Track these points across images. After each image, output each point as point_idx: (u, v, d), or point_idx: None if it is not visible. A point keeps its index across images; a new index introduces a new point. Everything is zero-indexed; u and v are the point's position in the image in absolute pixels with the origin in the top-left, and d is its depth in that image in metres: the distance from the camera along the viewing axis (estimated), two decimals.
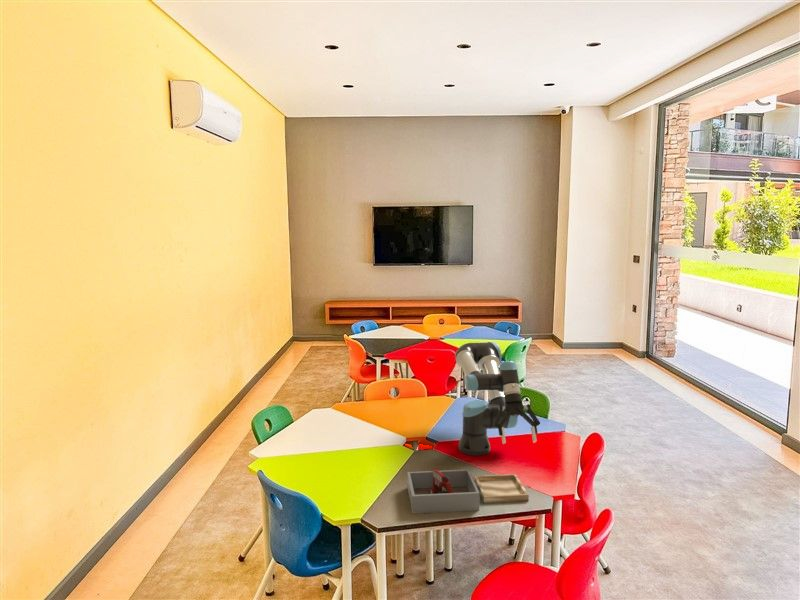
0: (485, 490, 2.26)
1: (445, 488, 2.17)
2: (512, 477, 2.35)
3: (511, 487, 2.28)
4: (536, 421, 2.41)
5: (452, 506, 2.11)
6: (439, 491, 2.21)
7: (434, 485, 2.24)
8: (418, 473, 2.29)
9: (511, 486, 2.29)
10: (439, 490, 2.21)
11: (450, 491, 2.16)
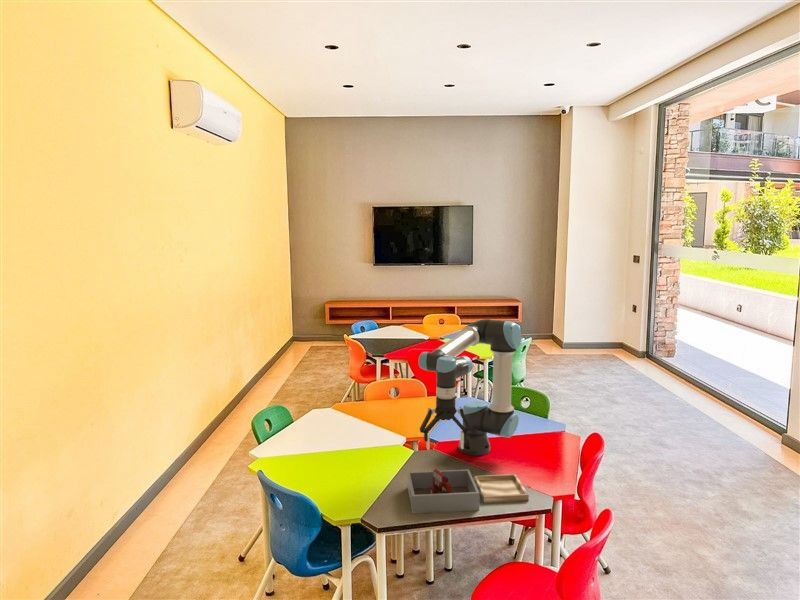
0: (485, 490, 2.26)
1: (445, 488, 2.17)
2: (512, 477, 2.35)
3: (511, 487, 2.28)
4: (467, 428, 2.16)
5: (452, 506, 2.11)
6: (439, 491, 2.21)
7: (434, 485, 2.24)
8: (418, 473, 2.29)
9: (511, 486, 2.29)
10: (439, 490, 2.21)
11: (450, 491, 2.16)
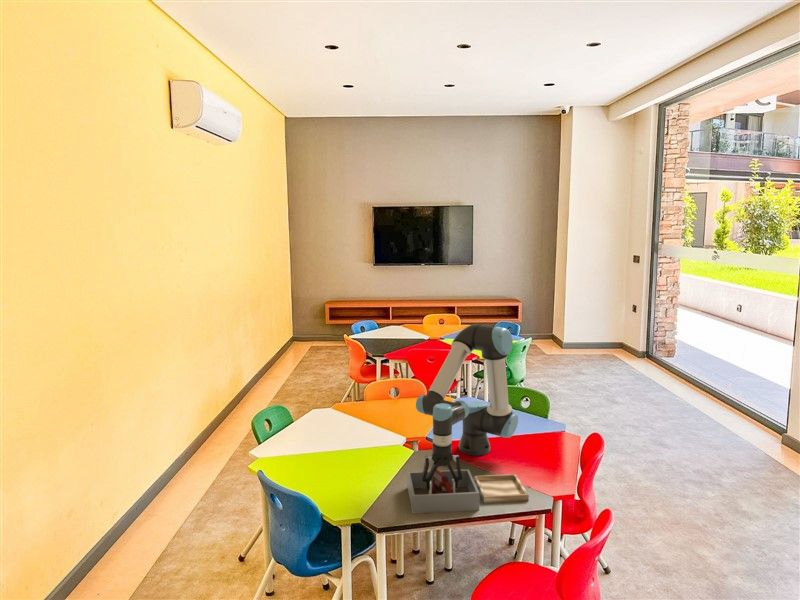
0: (485, 490, 2.26)
1: (445, 488, 2.17)
2: (512, 477, 2.35)
3: (511, 487, 2.28)
4: (459, 476, 2.19)
5: (452, 506, 2.11)
6: (439, 491, 2.21)
7: (434, 485, 2.24)
8: (418, 473, 2.29)
9: (511, 486, 2.29)
10: (439, 490, 2.21)
11: (450, 491, 2.15)
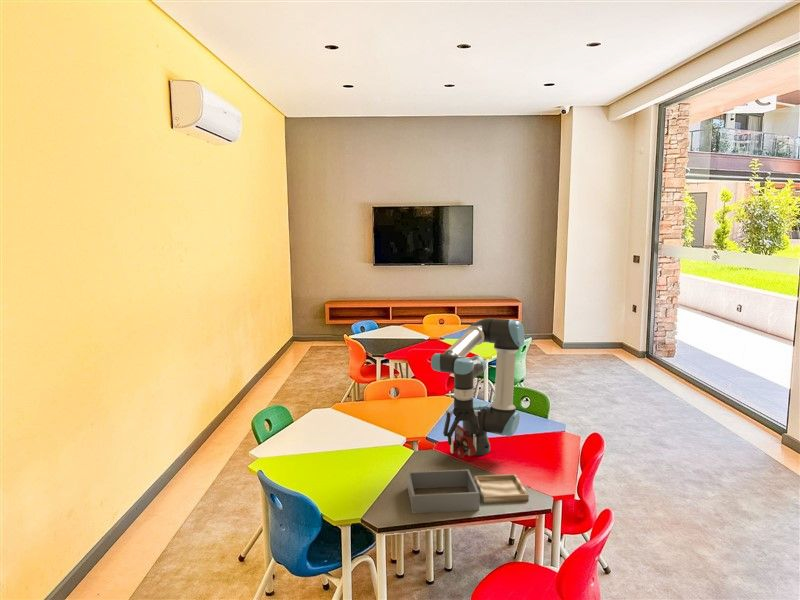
0: (485, 490, 2.26)
1: (466, 442, 2.17)
2: (512, 477, 2.35)
3: (511, 487, 2.28)
4: (480, 431, 2.19)
5: (452, 506, 2.11)
6: (460, 446, 2.21)
7: (455, 440, 2.24)
8: (418, 473, 2.29)
9: (511, 486, 2.29)
10: (460, 445, 2.21)
11: (471, 445, 2.15)
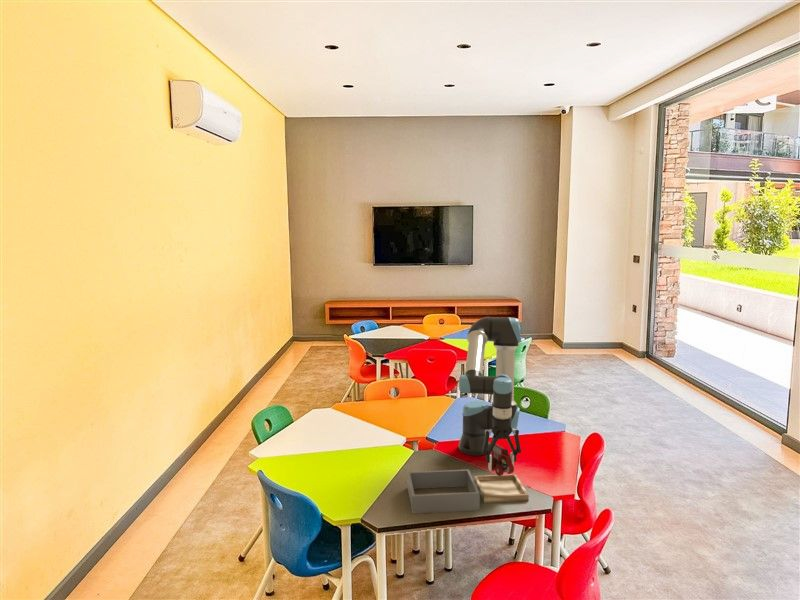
0: (485, 490, 2.26)
1: (505, 460, 2.21)
2: (512, 477, 2.35)
3: (511, 487, 2.28)
4: (518, 449, 2.24)
5: (452, 506, 2.11)
6: (498, 464, 2.25)
7: (493, 458, 2.28)
8: (418, 473, 2.29)
9: (511, 486, 2.29)
10: (498, 463, 2.25)
11: (510, 463, 2.20)
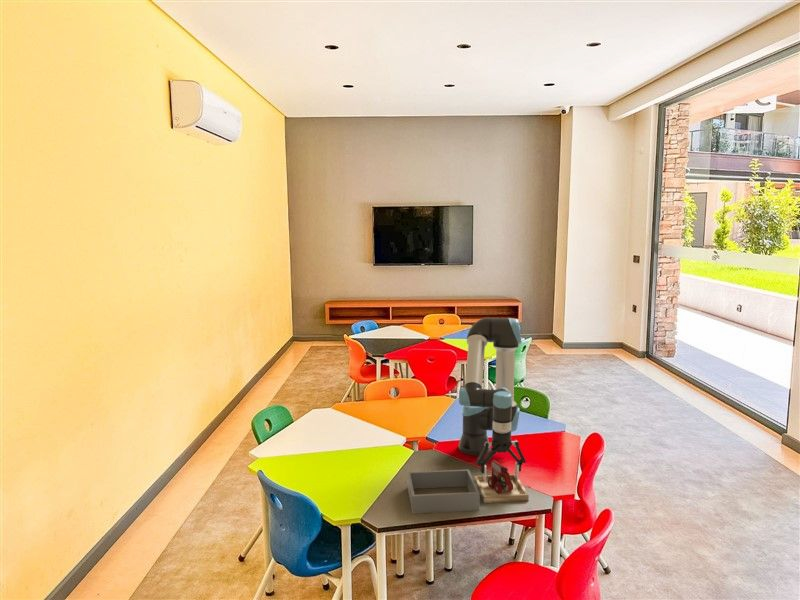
0: (485, 490, 2.26)
1: (504, 478, 2.23)
2: (512, 477, 2.35)
3: None
4: (522, 460, 2.25)
5: (452, 506, 2.11)
6: (498, 481, 2.27)
7: (493, 475, 2.30)
8: (418, 473, 2.29)
9: None
10: (498, 480, 2.27)
11: (509, 481, 2.21)
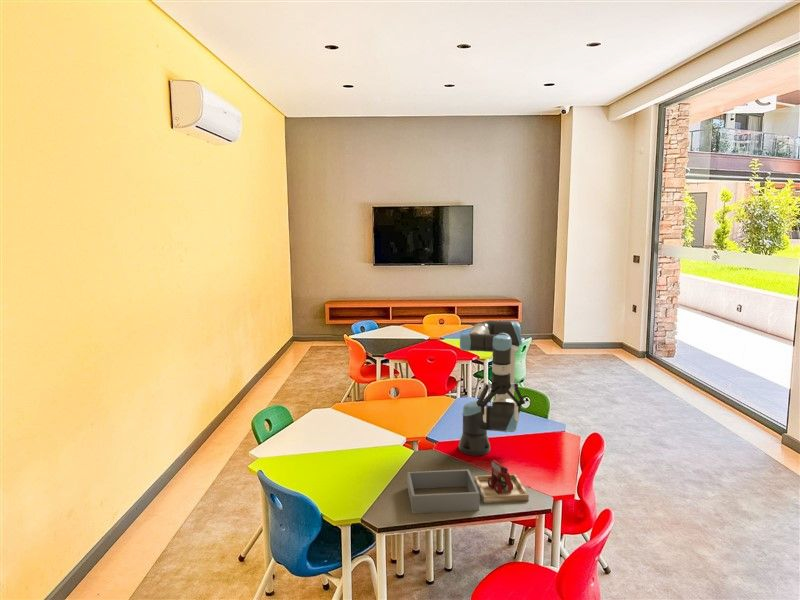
0: (485, 490, 2.26)
1: (504, 478, 2.23)
2: (512, 477, 2.35)
3: None
4: (521, 401, 2.31)
5: (452, 506, 2.11)
6: (498, 481, 2.27)
7: (493, 475, 2.30)
8: (418, 473, 2.29)
9: None
10: (498, 480, 2.27)
11: (509, 481, 2.21)
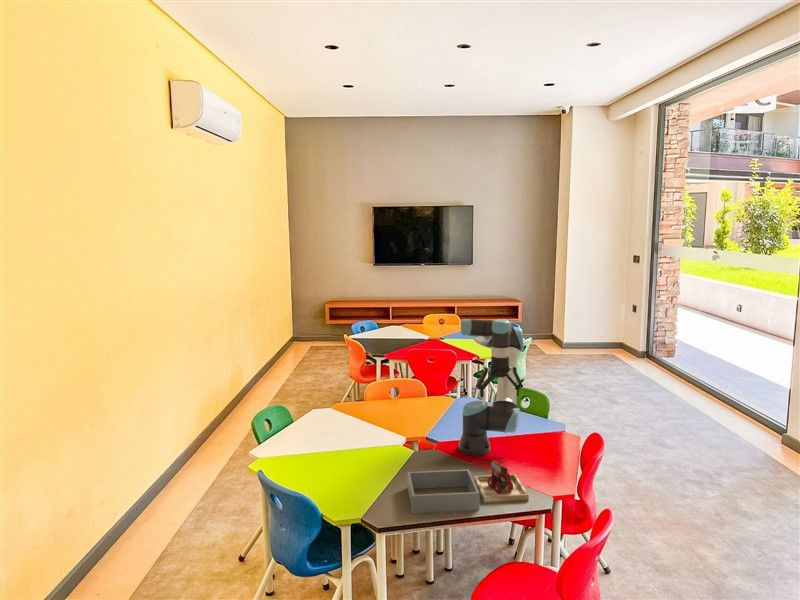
0: (485, 490, 2.26)
1: (504, 478, 2.23)
2: (512, 477, 2.35)
3: None
4: (519, 384, 2.37)
5: (452, 506, 2.11)
6: (498, 481, 2.27)
7: (493, 475, 2.30)
8: (418, 473, 2.29)
9: None
10: (498, 480, 2.27)
11: (509, 481, 2.21)
